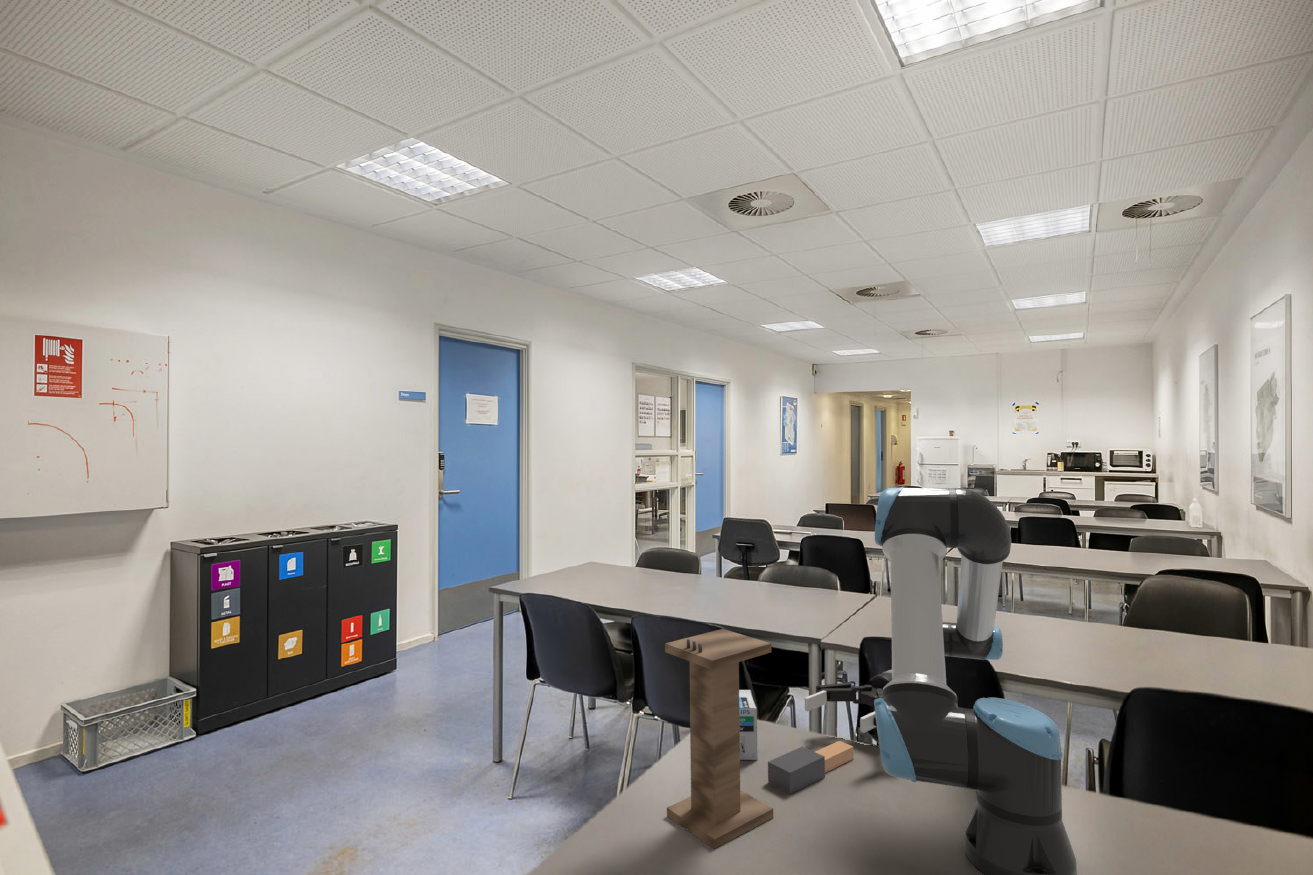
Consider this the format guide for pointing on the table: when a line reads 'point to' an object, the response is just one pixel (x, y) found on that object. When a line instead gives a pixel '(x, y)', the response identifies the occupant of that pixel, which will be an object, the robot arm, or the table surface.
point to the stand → (716, 738)
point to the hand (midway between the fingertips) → (832, 714)
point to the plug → (806, 766)
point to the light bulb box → (747, 726)
